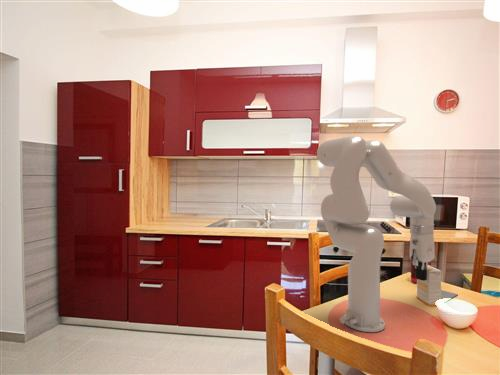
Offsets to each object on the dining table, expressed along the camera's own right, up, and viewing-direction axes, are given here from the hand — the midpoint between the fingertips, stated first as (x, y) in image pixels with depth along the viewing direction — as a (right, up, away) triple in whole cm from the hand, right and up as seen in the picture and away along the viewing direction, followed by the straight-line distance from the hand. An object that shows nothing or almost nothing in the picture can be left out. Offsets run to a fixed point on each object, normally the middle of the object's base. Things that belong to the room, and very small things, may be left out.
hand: (421, 279), depth 109 cm
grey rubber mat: (+13, -10, +10) cm, 19 cm away
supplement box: (+5, -10, +4) cm, 12 cm away
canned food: (+14, -10, +25) cm, 31 cm away
